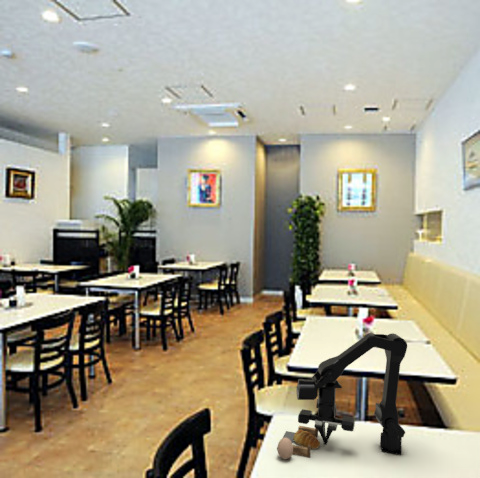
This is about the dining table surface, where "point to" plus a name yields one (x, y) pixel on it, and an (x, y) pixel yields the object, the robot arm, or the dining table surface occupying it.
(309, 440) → the pastry
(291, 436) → the mat
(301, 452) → the wooden blocks
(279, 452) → the egg
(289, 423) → the dining table surface
